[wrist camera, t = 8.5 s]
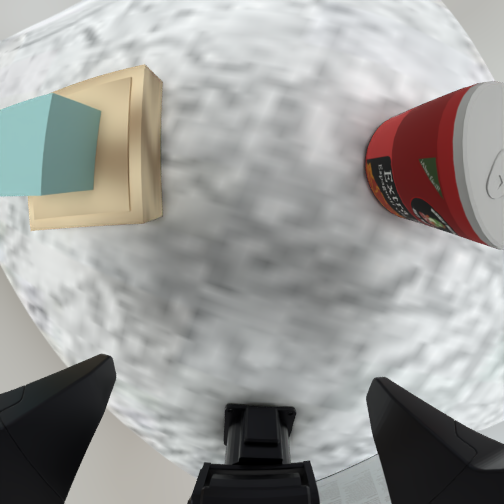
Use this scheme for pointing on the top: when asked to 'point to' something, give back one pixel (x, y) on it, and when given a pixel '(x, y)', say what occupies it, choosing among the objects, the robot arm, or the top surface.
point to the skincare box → (356, 485)
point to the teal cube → (47, 146)
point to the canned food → (445, 163)
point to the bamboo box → (114, 155)
